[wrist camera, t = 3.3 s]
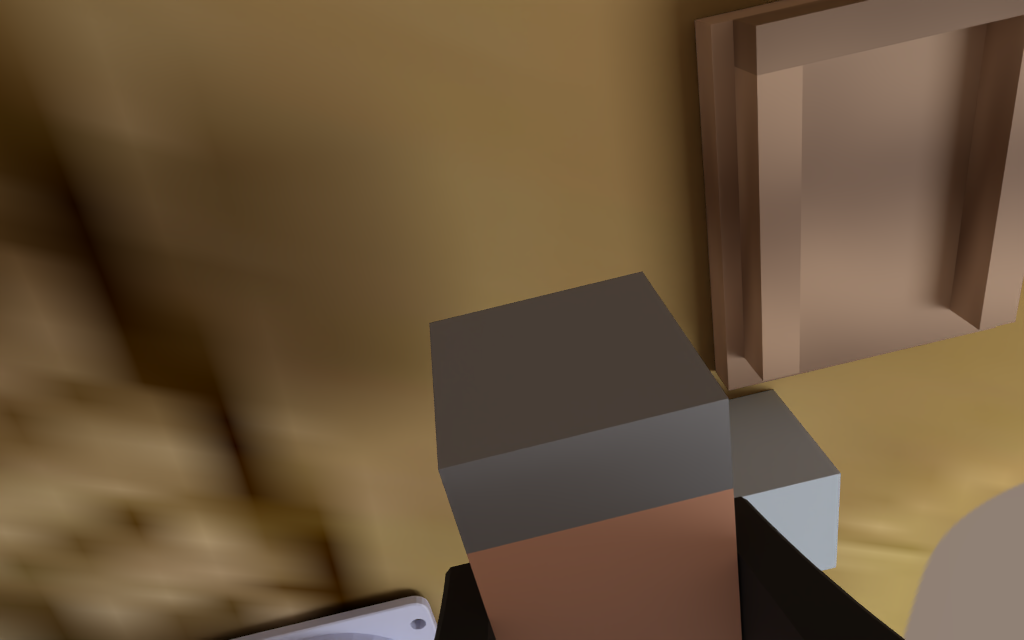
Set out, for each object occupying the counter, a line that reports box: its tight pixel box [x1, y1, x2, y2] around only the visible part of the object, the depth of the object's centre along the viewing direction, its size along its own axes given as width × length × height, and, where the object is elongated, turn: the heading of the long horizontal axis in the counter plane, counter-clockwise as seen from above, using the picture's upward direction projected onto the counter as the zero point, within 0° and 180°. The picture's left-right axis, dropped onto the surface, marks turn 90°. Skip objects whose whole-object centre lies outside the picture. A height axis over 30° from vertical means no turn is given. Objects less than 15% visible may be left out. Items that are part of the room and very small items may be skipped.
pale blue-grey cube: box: [729, 390, 841, 571], centre depth 21 cm, size 4×4×4 cm
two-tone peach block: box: [429, 272, 742, 640], centre depth 12 cm, size 8×4×4 cm, turn 12°
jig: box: [695, 0, 1024, 390], centre depth 18 cm, size 10×8×2 cm
